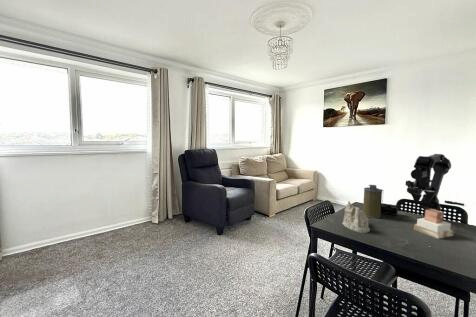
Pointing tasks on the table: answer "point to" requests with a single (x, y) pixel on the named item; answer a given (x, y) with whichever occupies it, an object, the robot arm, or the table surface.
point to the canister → (372, 201)
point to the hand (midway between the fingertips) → (421, 203)
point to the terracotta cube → (434, 216)
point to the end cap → (389, 210)
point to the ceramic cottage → (355, 219)
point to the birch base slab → (433, 233)
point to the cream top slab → (434, 225)
